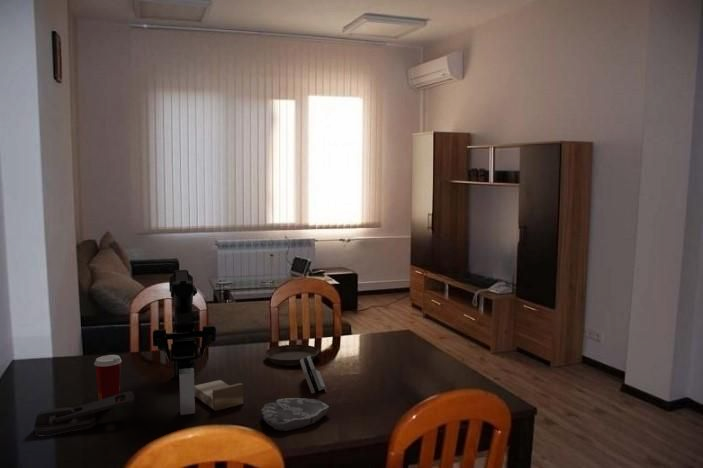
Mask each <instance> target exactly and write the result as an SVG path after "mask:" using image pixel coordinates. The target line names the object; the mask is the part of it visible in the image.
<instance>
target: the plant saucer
mask: <svg viewBox="0 0 703 468" xmlns="http://www.w3.org/2000/svg"><path fill="white" fill-rule="evenodd" d="M319 353H320V349H319V348H318V347H316V346H313V345H310V344H297V343H296V344H285V345H284V344H283V345H282V344H281V345H278V346H277V345H276V346H274V347H271V348H268V349H266V351H264V356H265V358H266V359H267V360H268V361H270V362H271V363H272V364H275V365H280V366H286V367H287V366H288V367H289V366H290V367H291V366H293V367H294V366H301V362H300V360H301V359H302V358H303V359H304V358H305V360H306V358H307V356H310V357H311V359H312V361H313V360H315V359H316V358H317V357H318V356H319ZM306 363H307V360H306ZM307 364H308V363H307Z"/></svg>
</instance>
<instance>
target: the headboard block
mask: <svg viewBox="0 0 703 468" xmlns="http://www.w3.org/2000/svg"><path fill="white" fill-rule="evenodd" d="M194 393H195V397H196V398H197V399H198V400H200V401H201V402H203V403H204V404H205V405H207V406H208V407H210V408H211V409H212V410H214V411H221V410H224V409H227V408H233V407H236V406H239V405H243V404H244V384H243V383H241V382H238V383H234V384H230V385H229V384H228V383H226V382H225V381H223V380H221V379H218V380H214V381H209V382H205V383H200V384H194Z"/></svg>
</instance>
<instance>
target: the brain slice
mask: <svg viewBox="0 0 703 468" xmlns="http://www.w3.org/2000/svg"><path fill="white" fill-rule="evenodd" d="M329 407H330V406H329V405H328V404H327V403H325V402H322V401H321V400H319V399H315V398H305V397H303V398H299V397H287V398H278V399H276V400H275V402H268V403H265V404H264V403H263V405H262V407H261V409H260V411H261V415H262V419H263V421H264V422H266V424H267V425H268V426H270V427H272V428H273V429H274V430H275V431H280V432H282V431H283V432H287V431H291V430H296V429H303V428H304V427H307V426H311V425H314V424H316V422H318V421H319V420H321V419H322V418H323V417H324V416H325V415H326V413H327V412H328V410H329Z"/></svg>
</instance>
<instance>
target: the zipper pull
mask: <svg viewBox="0 0 703 468" xmlns="http://www.w3.org/2000/svg"><path fill="white" fill-rule="evenodd" d="M134 395H135V394H134V393H133V392H132V391H130V390H129V391H128V390H127V391H126V392H122V393H121V392H120V394H118V395H115V396H111V397H108V398H105V399H101V400H99V399H98V400H95V401H92V402H88V403H85V404H82V405H78V406H74V407H71V406H70V407H69V406H67V407H59V408H53V409H47V410H42V411H40V412H38V413H37V414H36V417H35V422H34V427H33V428H34V434H35V433H36V434H37V435H44V436H49V435H54V436H57V435H56V434H59V435H62V434H61V433H64V434H66V433H65V432H69V433H71V432H70V431H74V432H78V431H77V430H79V431H83V429H84V430H88V429H91V428H93V427H94V426H96V425H97V424H96V414H95V413H97V412H102V411H105V410H110V409H111V410H112V409H115V408H117V407H123V406H126V405H129V404H133V402H134V401H135V396H134ZM119 398H120V399H121V398H125V399H124V400H122V401H121V400H120V402H117V403H115V400H116V399H119ZM36 434H35V435H36ZM49 437H50V436H49Z"/></svg>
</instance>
